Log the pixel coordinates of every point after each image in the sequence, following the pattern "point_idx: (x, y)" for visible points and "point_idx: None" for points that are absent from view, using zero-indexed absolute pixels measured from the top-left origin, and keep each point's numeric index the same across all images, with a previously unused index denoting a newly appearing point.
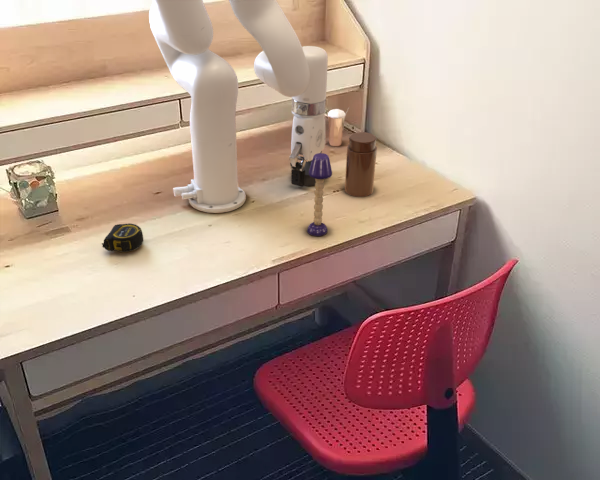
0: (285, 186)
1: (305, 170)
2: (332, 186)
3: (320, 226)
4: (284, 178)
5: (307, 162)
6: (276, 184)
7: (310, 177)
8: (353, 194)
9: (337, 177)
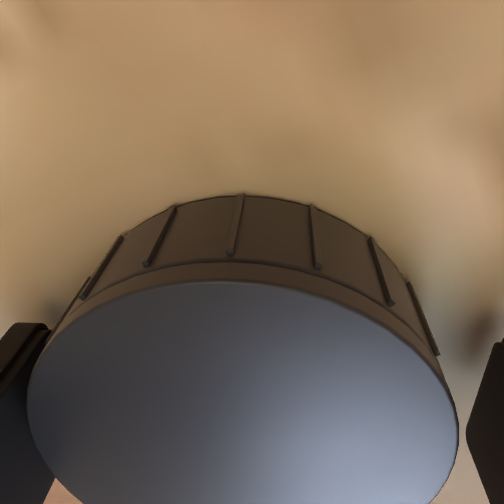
0: None
1: (323, 464)
2: (304, 20)
3: None
4: None
5: (101, 494)
6: (457, 495)
7: (432, 356)
8: None
9: (6, 72)
